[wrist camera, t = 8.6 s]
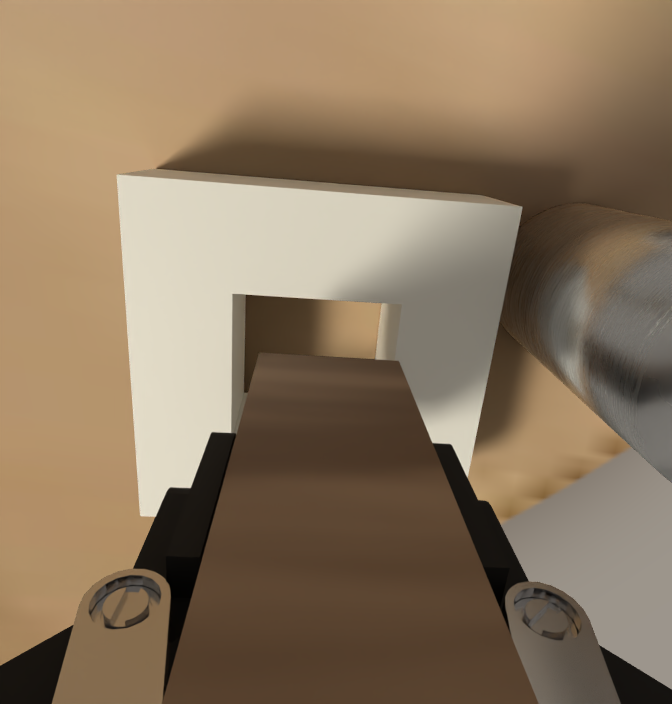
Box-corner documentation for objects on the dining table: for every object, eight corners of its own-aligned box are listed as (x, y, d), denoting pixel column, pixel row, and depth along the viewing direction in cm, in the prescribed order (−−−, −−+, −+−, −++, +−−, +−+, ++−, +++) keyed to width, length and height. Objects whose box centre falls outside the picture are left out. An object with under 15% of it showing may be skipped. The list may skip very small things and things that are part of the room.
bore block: (154, 168, 19) (116, 174, 15) (481, 195, 20) (522, 206, 16) (167, 456, 23) (140, 516, 19) (434, 466, 24) (457, 525, 20)
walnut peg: (258, 352, 15) (85, 979, 4) (398, 361, 15) (647, 969, 4) (255, 473, 16) (123, 1194, 5) (383, 478, 16) (532, 1177, 5)
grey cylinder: (507, 197, 20) (686, 242, 10) (658, 209, 20) (958, 263, 11) (478, 345, 22) (606, 493, 13) (615, 353, 22) (836, 501, 13)
